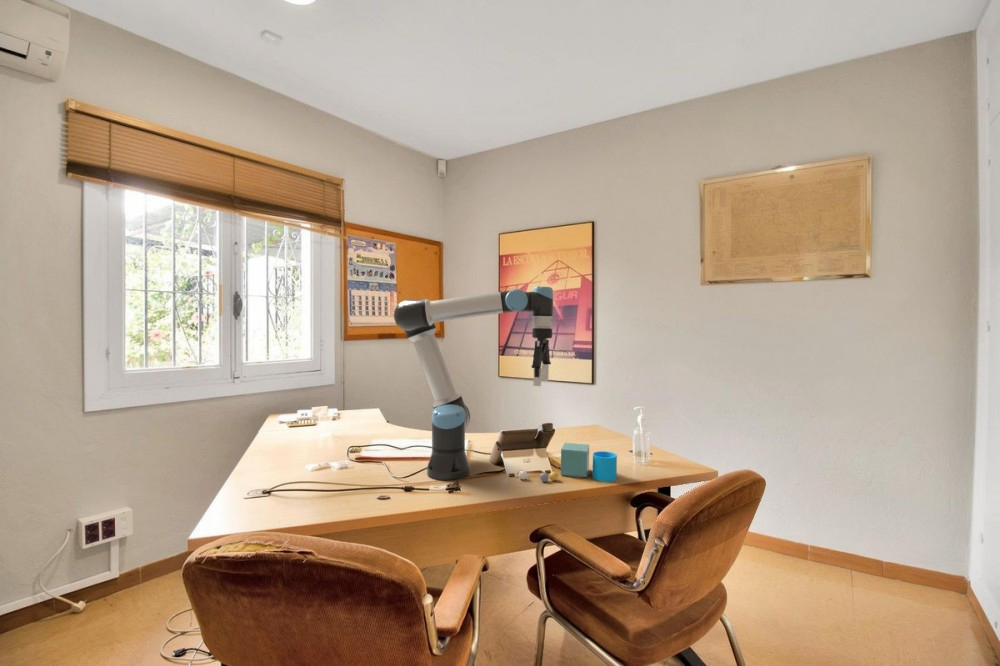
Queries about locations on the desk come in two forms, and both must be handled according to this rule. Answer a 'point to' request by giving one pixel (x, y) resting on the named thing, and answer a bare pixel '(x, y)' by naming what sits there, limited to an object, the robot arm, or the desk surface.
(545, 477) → the marble slate
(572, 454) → the matte teal cube
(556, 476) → the marble amber
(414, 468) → the desk surface
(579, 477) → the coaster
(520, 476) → the marble white
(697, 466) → the desk surface
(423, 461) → the desk surface
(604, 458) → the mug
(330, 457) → the desk surface
